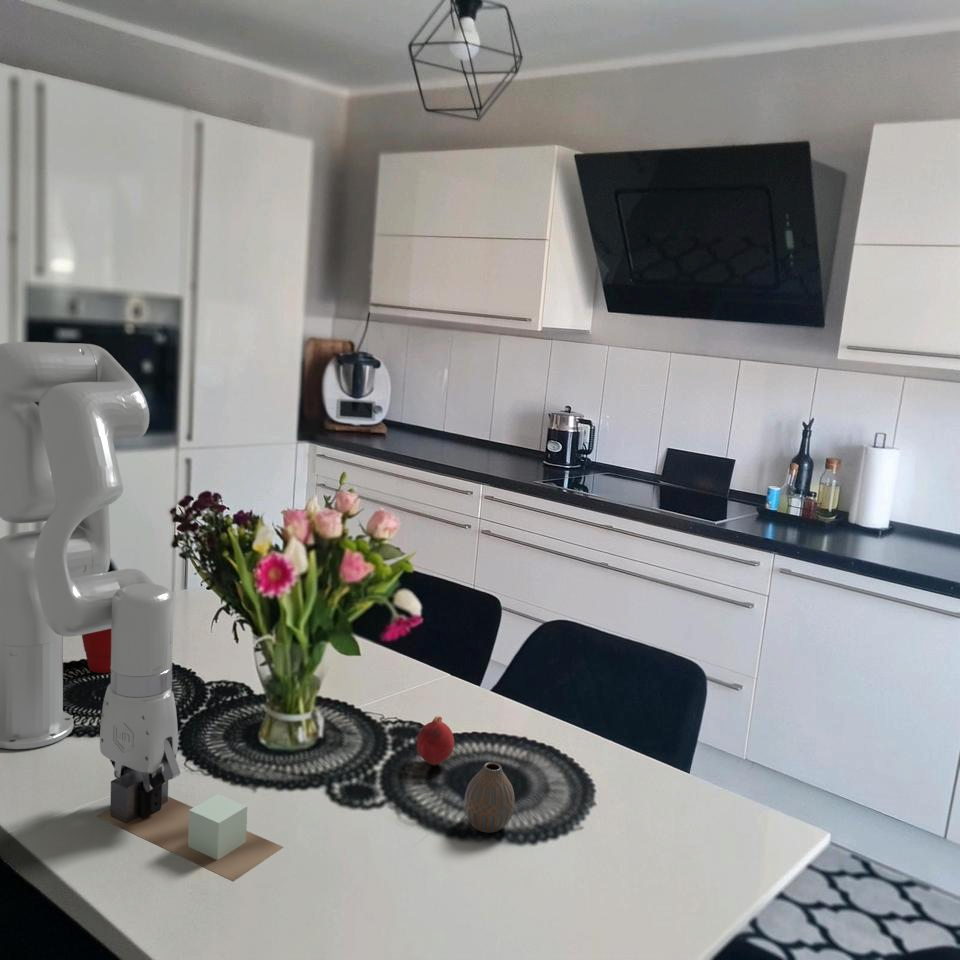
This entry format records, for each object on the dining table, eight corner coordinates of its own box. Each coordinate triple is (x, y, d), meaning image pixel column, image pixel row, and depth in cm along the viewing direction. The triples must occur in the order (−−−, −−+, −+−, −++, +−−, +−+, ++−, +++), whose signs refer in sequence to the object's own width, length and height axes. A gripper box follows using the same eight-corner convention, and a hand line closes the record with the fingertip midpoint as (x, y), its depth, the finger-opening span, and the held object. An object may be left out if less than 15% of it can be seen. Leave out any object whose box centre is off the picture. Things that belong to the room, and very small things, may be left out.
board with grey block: (96, 819, 125) (96, 780, 124) (150, 791, 133) (150, 755, 132) (233, 884, 114) (234, 842, 113) (283, 850, 122) (285, 811, 121)
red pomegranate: (447, 776, 145) (451, 727, 143) (410, 770, 146) (414, 721, 144) (455, 759, 150) (459, 712, 149) (420, 753, 151) (424, 706, 150)
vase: (518, 819, 134) (524, 761, 133) (503, 843, 128) (509, 783, 126) (472, 807, 136) (477, 750, 135) (455, 830, 130) (460, 771, 128)
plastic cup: (70, 658, 176) (71, 596, 174) (132, 654, 181) (133, 593, 179) (73, 681, 167) (73, 616, 165) (138, 676, 171) (139, 612, 169)
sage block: (188, 846, 120) (189, 810, 119) (216, 829, 125) (218, 793, 124) (217, 860, 118) (218, 823, 117) (245, 842, 122) (247, 806, 121)
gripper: (74, 671, 125) (73, 800, 128) (164, 705, 117) (161, 842, 121) (120, 655, 132) (119, 779, 135) (209, 687, 124) (205, 816, 127)
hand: (139, 807), depth 128 cm, fingers open, 3 cm apart
